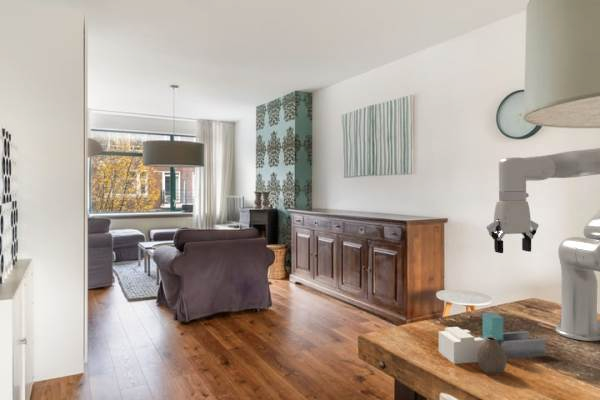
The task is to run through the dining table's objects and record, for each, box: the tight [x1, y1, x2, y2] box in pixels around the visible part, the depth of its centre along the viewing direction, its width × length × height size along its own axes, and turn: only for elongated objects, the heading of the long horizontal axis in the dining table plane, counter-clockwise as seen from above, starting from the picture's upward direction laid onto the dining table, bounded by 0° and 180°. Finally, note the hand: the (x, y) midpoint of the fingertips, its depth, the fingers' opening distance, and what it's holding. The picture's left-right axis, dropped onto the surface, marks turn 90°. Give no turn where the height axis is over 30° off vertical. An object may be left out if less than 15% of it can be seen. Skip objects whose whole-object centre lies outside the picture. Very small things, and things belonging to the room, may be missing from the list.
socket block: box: [438, 326, 484, 365], centre depth 114 cm, size 9×8×7 cm
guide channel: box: [498, 330, 547, 360], centre depth 117 cm, size 14×8×4 cm, turn 99°
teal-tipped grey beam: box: [481, 312, 504, 342], centre depth 115 cm, size 14×4×10 cm, turn 99°
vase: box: [477, 337, 507, 376], centre depth 105 cm, size 7×7×9 cm
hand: (512, 251), depth 126 cm, fingers open, 9 cm apart
